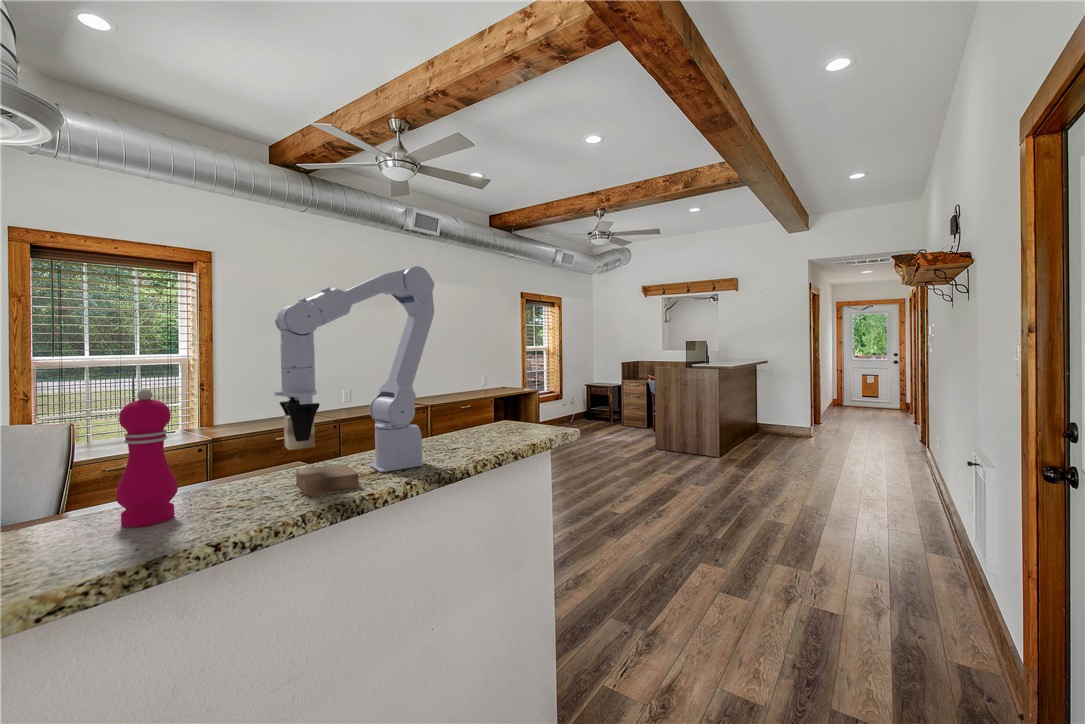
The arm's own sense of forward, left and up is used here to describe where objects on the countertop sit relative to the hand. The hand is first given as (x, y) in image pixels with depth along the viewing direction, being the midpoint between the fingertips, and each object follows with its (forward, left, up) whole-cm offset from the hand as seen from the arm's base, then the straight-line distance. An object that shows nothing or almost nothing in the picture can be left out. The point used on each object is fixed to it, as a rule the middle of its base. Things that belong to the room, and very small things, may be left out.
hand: (300, 438), depth 91 cm
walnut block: (-4, +4, -9) cm, 11 cm away
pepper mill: (+22, +7, -9) cm, 25 cm away
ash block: (0, 0, -2) cm, 2 cm away
